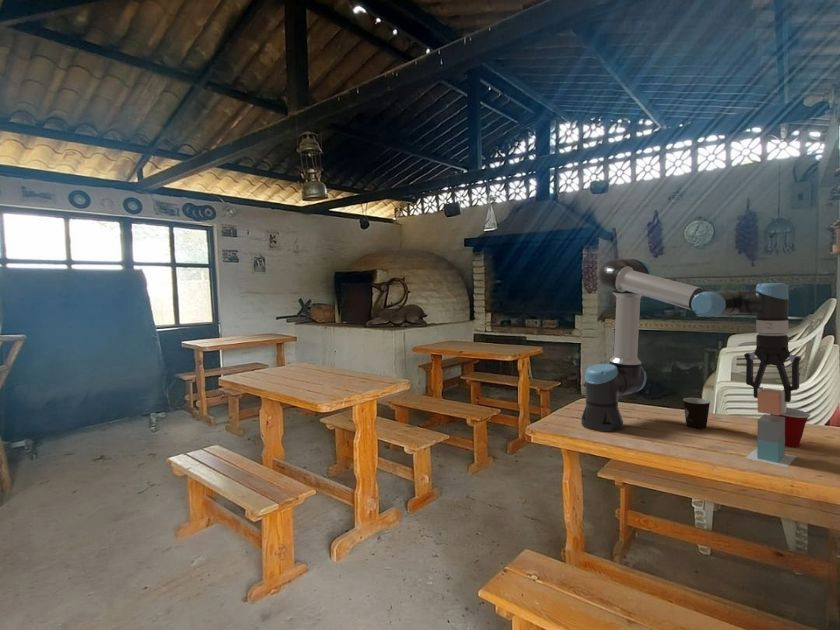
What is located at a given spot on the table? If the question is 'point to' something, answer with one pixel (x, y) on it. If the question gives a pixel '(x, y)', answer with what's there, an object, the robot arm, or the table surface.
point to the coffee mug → (696, 412)
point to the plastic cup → (794, 426)
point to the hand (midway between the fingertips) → (771, 410)
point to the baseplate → (783, 462)
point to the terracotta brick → (769, 401)
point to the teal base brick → (770, 450)
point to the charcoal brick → (771, 428)
